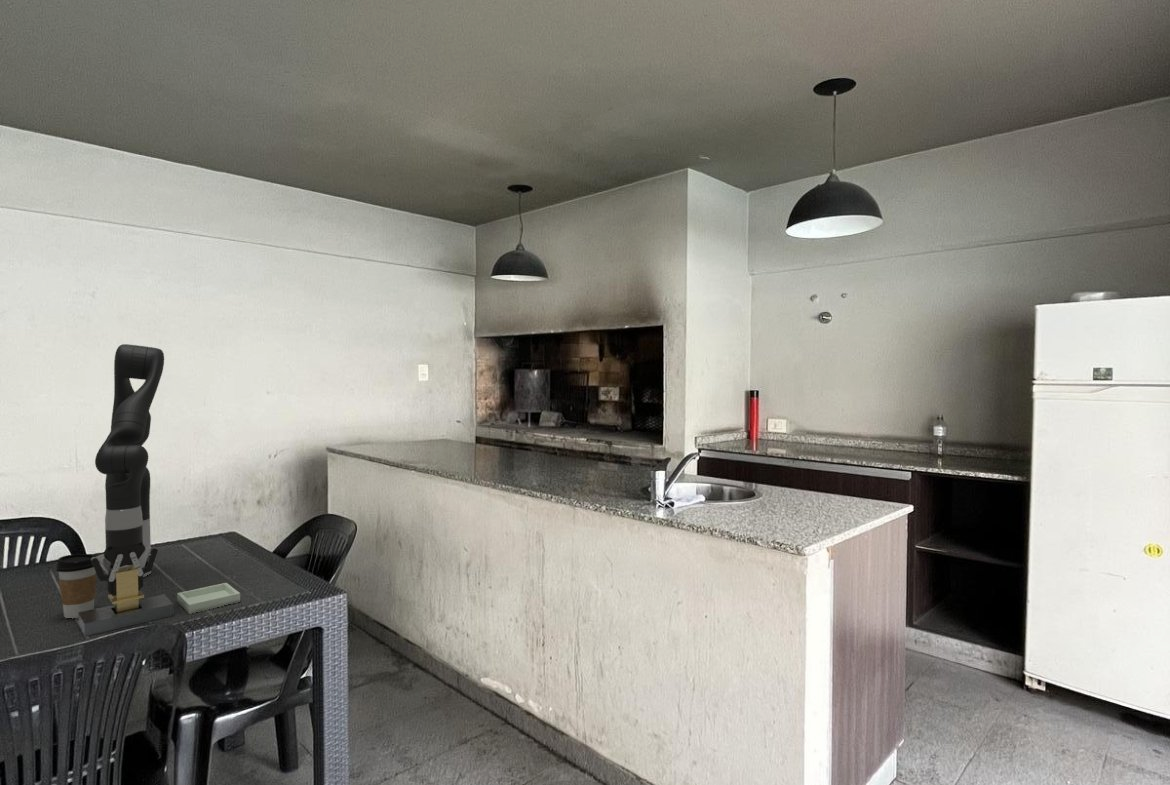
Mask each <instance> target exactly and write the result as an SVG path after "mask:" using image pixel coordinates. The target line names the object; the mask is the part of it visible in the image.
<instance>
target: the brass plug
mask: <svg viewBox="0 0 1170 785" xmlns="http://www.w3.org/2000/svg"><path fill="white" fill-rule="evenodd" d="M115 575H116V577H115V581H116V596H112V594H108V595H107V599H108V600H109V602H111V604H112V605H114V609H115V611H116V612H117V613H121V612H125V611H130V610H134V609H139V599H144V598H145V594H144V593H142V591H141V590H140V591H138V569H135V568H134V567H133V566H127V567H122V568H119V569H118V572H115Z"/></svg>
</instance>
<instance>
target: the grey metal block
mask: <svg viewBox="0 0 1170 785" xmlns="http://www.w3.org/2000/svg"><path fill="white" fill-rule="evenodd" d="M138 600H139V609H134V610H130V611H125V612H121V613H117V612H116V611H115V609H114V604H112V605H107V606H102V607H97V608H94V609H92V610H87V611H83V612H78V618H77V619H78V626H79V628H80V630H81V632H82V634H83V636H84V637H89V636H92V635H96V634H102V633H106V632H110V631H113V630H118V629H123V628H127V627H131V626H135V625H140V624H142V623H148V622H152V621H156V620H161V619H165V618H168V617H173V616H175V613H174V609H175V608H174V605H175V604H174V603H173V602H172V601H171V600H170V599H169V598H168V596H167V595H166V594H165V593H164V594H163V593H162V594H159V595H155V596H149V597H144V598H140V599H138Z"/></svg>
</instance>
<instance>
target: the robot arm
mask: <svg viewBox="0 0 1170 785" xmlns="http://www.w3.org/2000/svg"><path fill="white" fill-rule="evenodd" d="M114 353H115V354H114V363H113V364H114V365H113V366H114V367H113V368H114V369H113V374H114V376H113V377H114V378H113V380H114V381H113V382H114V387H113V388H114V390H113V392H114V395H113V406H112V412H111V423H110V424H111V425H110V432H109V434H108V435H107V437H106V439H105V440H104V442H103V443H102V445H101V446H100V447H99V449H98V451H97V453H96V455H95V460H94V463H95V464H94V465H95V468H96V470H97V471H98V472H99V473H100V474H103V475H105V484H104V486H105V487H104V489H105V511H106V512H105V515H104V516H105V517H104V523H105V526H104V527H105V529H104V530H105V531H104V532H105V533H104V534H105V550H104V551H103V554H100V555H96V557H92V558H91V562H92V564H93V567H94V569H95V571H96V574H97V577H98V579H99V581H101V582H103V581H105V582H107V592H108V595H111V594H112V596H116V581H115V577H116V575H115V572H118V569H119V568H122V567H127V566H133V567H134V568H135V569H138V591H141V589H143V588H144V578H145V577H147V575H148V576H150V575H151V574H152V570H153V567H154V563H155V560H156V557H157V555H158V554H157V553H158V549H157V548H156V547H155V546H152V545H151V544H152V543H151V542H152V541H151V540H152V539H151V510H150V508H151V505H150V503H151V501H150V499H151V497H150V496H151V474H150V470H149V468H148V467H147V465H148V462H149V453H148V450H147V449H146V448H145V447H144V446H143V445H144V444H145V443H146V442H147V440H148V438H149V436H150V434H151V432H150V431H151V421H152V416H151V415H152V414H151V413H150V409H151V406H152V403H153V401H154V398H155V395H156V393H157V390H158V387H159V384H160V380H161V377H162V376H163V375H162V374H163V372H164V371H163V369H164V365H165V354H164V351H163V350H162V349H161V348H157V347H152V346H145V345H136V344H129V343H128V344H124V343H123V344H120V345H119V346H118V347H117V348H116V351H115V352H114ZM131 379H134V380H144V382H143V384H142V385H141V386H140V387H139V388H138V389H136V391H135V390H134V387H133V386H132V383H131ZM104 559H106V561H108V562H109V563H110V567H109V569H108V573H107V574H106V573H104V570H103V568H102V566H101V565H103V564H104ZM149 574H150V575H149Z"/></svg>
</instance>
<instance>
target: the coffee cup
mask: <svg viewBox="0 0 1170 785" xmlns="http://www.w3.org/2000/svg"><path fill="white" fill-rule="evenodd" d="M92 557H97V555H96V554H90V553H75V554H74V553H73V554H68V555H63V556H60V557H59V558H58V560H57V564H56V565H57V566H56V571H57V572H58V585H59V590H60V591H59V592H60V597H61V603H62V604H61V605H62V609H63V618H64V617H65V618H64V619H66V618H72V619H71V620H74V619H73V618H76V619H78V612H83V611H87V610H92V609H95V597H96V588H97V587H96V586H97V577H98V576H97V574H96V571H95V569H94V567H93V564H92V562H91V558H92Z"/></svg>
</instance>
